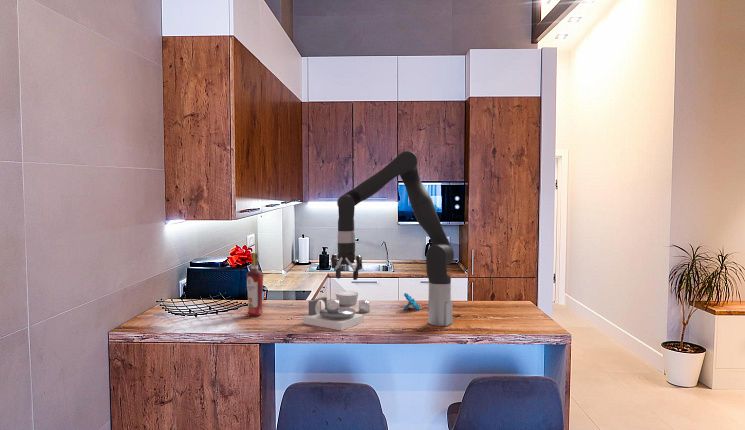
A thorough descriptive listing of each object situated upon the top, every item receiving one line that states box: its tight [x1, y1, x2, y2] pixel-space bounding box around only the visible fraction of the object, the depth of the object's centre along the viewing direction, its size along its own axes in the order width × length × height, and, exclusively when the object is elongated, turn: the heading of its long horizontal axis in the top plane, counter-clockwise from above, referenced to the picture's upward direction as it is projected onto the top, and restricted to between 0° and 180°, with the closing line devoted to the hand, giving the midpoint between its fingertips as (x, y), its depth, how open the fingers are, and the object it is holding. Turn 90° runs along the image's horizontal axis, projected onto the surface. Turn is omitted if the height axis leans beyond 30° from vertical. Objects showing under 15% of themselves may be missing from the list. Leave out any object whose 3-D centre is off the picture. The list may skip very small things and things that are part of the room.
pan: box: [320, 306, 356, 318], centre depth 217 cm, size 15×15×1 cm
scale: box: [302, 296, 365, 331], centre depth 218 cm, size 20×16×9 cm
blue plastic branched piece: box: [403, 292, 421, 311], centre depth 243 cm, size 11×6×10 cm
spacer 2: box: [358, 299, 371, 314], centre depth 238 cm, size 5×5×5 cm
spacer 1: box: [327, 298, 340, 314], centre depth 215 cm, size 5×5×5 cm
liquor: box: [245, 252, 264, 318], centre depth 231 cm, size 7×7×28 cm
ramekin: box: [335, 290, 359, 306], centre depth 255 cm, size 11×11×5 cm
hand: (346, 279), depth 223 cm, fingers open, 8 cm apart
